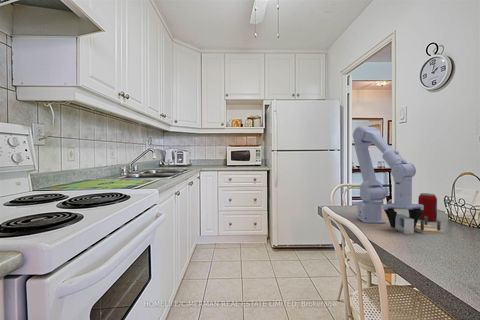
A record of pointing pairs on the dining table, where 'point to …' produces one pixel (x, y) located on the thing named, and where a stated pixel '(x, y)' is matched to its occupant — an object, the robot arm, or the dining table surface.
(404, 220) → the drive
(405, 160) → the robot arm
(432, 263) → the dining table surface
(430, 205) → the beverage can
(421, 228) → the caddy
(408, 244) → the dining table surface
